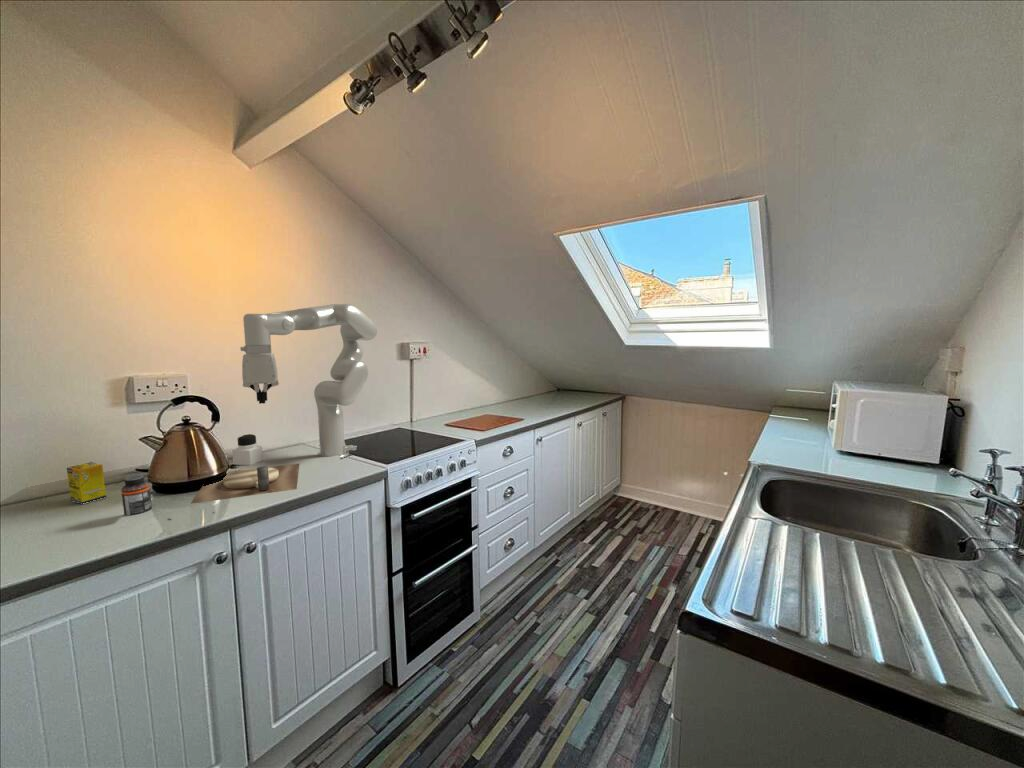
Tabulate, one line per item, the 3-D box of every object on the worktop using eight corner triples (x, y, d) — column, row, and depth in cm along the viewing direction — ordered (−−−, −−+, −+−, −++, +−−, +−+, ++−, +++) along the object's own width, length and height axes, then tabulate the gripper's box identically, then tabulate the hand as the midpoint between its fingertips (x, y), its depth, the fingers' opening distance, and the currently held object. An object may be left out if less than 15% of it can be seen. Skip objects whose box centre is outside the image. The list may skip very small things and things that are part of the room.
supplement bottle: (130, 513, 121) (125, 475, 119) (155, 509, 123) (151, 472, 121) (120, 521, 115) (115, 482, 114) (147, 518, 117) (143, 479, 116)
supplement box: (70, 502, 128) (65, 467, 126) (95, 494, 133) (91, 461, 132) (82, 505, 126) (77, 469, 124) (106, 497, 131) (102, 463, 130)
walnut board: (299, 467, 161) (299, 463, 161) (296, 493, 136) (296, 488, 136) (211, 477, 149) (211, 473, 149) (190, 508, 124) (190, 503, 124)
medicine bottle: (263, 463, 166) (261, 433, 164) (250, 469, 159) (248, 438, 157) (246, 462, 166) (244, 432, 165) (233, 468, 159) (230, 437, 158)
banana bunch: (217, 479, 142) (215, 459, 141) (269, 468, 153) (268, 449, 152) (236, 497, 127) (234, 475, 126) (292, 483, 139) (290, 462, 138)
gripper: (230, 351, 137) (235, 406, 139) (282, 350, 143) (286, 403, 146) (234, 350, 144) (238, 402, 146) (284, 349, 150) (287, 399, 152)
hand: (262, 402), depth 146 cm, fingers closed
